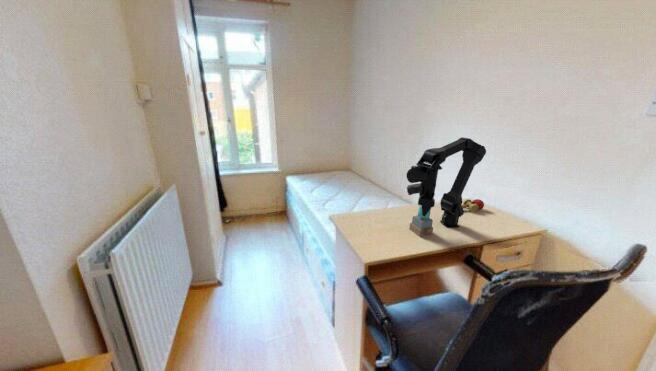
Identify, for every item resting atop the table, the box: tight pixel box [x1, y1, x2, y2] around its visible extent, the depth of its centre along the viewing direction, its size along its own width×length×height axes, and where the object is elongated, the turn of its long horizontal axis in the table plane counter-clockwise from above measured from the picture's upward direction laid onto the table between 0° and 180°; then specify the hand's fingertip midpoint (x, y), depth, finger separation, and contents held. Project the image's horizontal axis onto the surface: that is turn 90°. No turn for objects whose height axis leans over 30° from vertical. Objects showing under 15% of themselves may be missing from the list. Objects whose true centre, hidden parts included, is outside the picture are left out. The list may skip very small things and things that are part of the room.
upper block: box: [411, 214, 434, 229], centre depth 114 cm, size 6×6×4 cm
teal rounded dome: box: [417, 205, 432, 218], centre depth 112 cm, size 5×5×4 cm
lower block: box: [408, 222, 434, 237], centre depth 115 cm, size 7×7×4 cm
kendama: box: [461, 198, 485, 213], centre depth 138 cm, size 8×6×18 cm
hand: (424, 213), depth 112 cm, fingers closed on teal rounded dome, 5 cm apart
